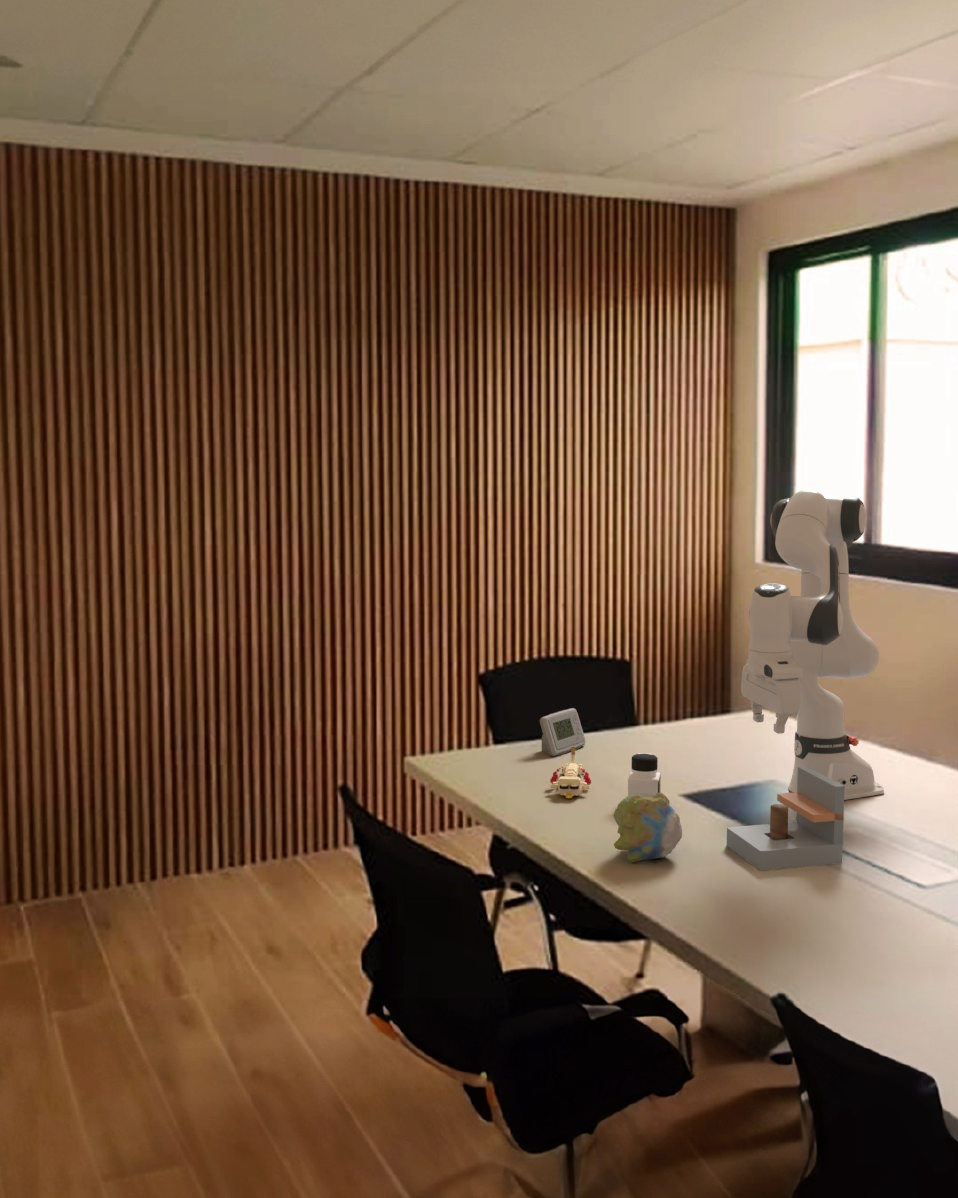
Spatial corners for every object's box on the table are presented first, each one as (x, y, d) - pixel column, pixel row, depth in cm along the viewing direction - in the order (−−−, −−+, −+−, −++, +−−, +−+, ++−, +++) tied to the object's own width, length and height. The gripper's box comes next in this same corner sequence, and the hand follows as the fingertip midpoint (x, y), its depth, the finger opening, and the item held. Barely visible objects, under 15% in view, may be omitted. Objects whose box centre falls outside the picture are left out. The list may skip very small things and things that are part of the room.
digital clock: (551, 758, 344) (551, 719, 343) (529, 752, 351) (529, 714, 350) (594, 748, 355) (594, 711, 353) (571, 742, 362) (571, 705, 360)
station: (804, 839, 275) (806, 766, 272) (842, 863, 259) (844, 786, 257) (726, 845, 270) (727, 772, 268) (760, 870, 255) (761, 792, 253)
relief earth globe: (684, 787, 259) (638, 774, 271) (625, 823, 251) (580, 807, 264) (701, 848, 262) (654, 831, 275) (643, 884, 255) (598, 866, 268)
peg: (782, 850, 267) (783, 803, 265) (790, 855, 263) (791, 808, 262) (766, 851, 266) (767, 805, 265) (774, 857, 262) (775, 809, 261)
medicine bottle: (658, 809, 297) (658, 759, 295) (627, 808, 298) (627, 758, 297) (660, 801, 304) (660, 751, 302) (630, 799, 305) (630, 750, 304)
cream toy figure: (553, 778, 330) (547, 798, 305) (554, 745, 329) (548, 761, 304) (592, 779, 328) (589, 799, 304) (592, 745, 328) (590, 762, 303)
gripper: (734, 653, 276) (733, 716, 278) (778, 673, 256) (777, 740, 258) (761, 652, 277) (759, 714, 279) (807, 671, 258) (805, 738, 260)
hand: (768, 727), depth 269 cm, fingers open, 8 cm apart
